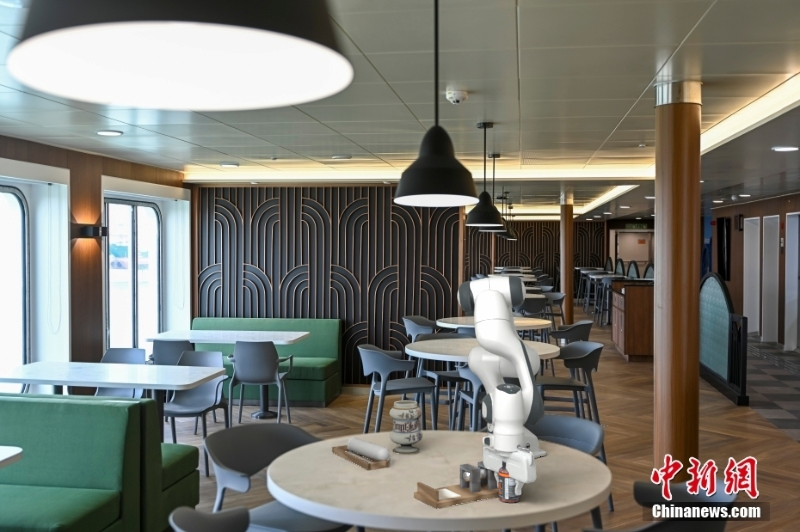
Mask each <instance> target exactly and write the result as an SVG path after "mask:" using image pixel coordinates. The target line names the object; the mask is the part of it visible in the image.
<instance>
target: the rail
mask: <svg viewBox="0 0 800 532" xmlns="http://www.w3.org/2000/svg"><path fill="white" fill-rule="evenodd" d="M484 468H485V466H484V464H483V460H482V461H477V466H475V465H472V464H470V463H464V464H459V484H455V485H448V486H443V487H436V488H434V487H433V486H432V487H431V486H429V485H428V484H425V483H423V482H421V481H420V482H419V481H418V482H416V487H417V488H416V489H417V490H416V491H415V492H413V498H415V499H416V500H417V501H420V502H422V503H424V504H425V505H428V506H429V505H430V506H429V507H431V506H432V508H433V507H434V508H433V509H435V508H436V509H435V510H438V509H437V508H439V509H443V508H442V507H445V508H447V507H446V506H450V507H453V506H452V505H455V506H457V505H456V504H460V505H462V504H461V503H465V504H467V503H466V502H471V501H476V502H478V501H477V500H481V499H486V500H488V499H487V498H491V499H494V498H493V497H497V498H499V488H498V487H497V480H496V478H495V475H494V471H492V470H489V469H488V478H484V479H480V469H484ZM486 469H487V468H486ZM466 471H468V472H470V481H467V482H466V481H465V480H464V478H463V473H464V472H466ZM522 493H523V487H522V488H521V494H522ZM481 501H482V500H481ZM471 503H472V502H471Z"/></svg>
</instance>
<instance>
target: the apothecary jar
mask: <svg viewBox="0 0 800 532" xmlns="http://www.w3.org/2000/svg"><path fill="white" fill-rule="evenodd" d="M422 414H423V411H422V409H421V408H420V407H419V405H418V402H417V401H415V400H407V399H405V400H397V401H394V403H393V407H392V408H391V409H390V410H389V416H390V417H391V418H392V431H391V432H390V433H389V438H390V440H391V441H392V442H393V443H395V444H396V445H399V446H397V447H395V448H393V449H392V452H393V453H394V452H395V453H394V454H396V453H399V454H398V455H404V454H408V455H415V453H416V454H418V453H420V449H419V447H416V446H413V445H414V444H418V443H419V442H420V441H422V439H423V432H422V431H421V430H420V425H419V423H420V421H419V420H420V417H421V416H422Z"/></svg>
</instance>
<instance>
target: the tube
mask: <svg viewBox="0 0 800 532" xmlns="http://www.w3.org/2000/svg"><path fill="white" fill-rule="evenodd" d="M346 445H347V449H348V450H350V451H349V452H351V451H353V452H352V453H354V452H356V453H358V454H361V455H364V456H367V457H369V458H372V459H375V460H378V461H385V460H388V461H389V458H390V457H391V455H390V450H389V448H387V447H385V446H382V445H379V444H376V443H372V442H370V441H366V440H363V439H360V438H357V437H355V436H353V437H349V440H347V444H346ZM356 453H355V454H356ZM358 454H357V455H358Z"/></svg>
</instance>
